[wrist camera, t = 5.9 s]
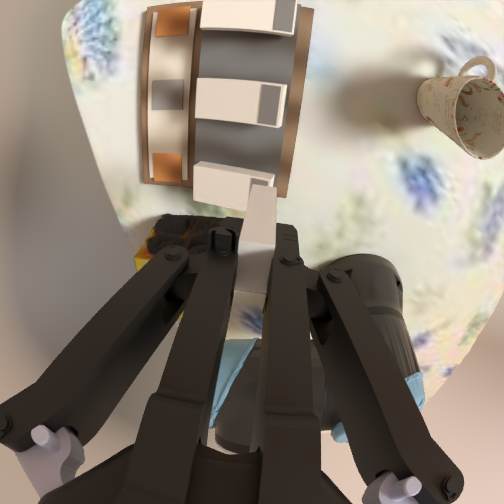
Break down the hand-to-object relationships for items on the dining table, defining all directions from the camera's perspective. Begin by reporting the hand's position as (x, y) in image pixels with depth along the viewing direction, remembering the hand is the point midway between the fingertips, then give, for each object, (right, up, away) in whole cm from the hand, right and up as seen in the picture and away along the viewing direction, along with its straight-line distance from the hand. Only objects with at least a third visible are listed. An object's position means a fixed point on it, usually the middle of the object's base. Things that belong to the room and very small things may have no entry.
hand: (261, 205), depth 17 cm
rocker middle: (-1, +12, +6) cm, 13 cm away
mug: (+22, +17, +5) cm, 28 cm away
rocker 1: (-1, +19, +1) cm, 19 cm away
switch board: (-4, +14, +9) cm, 18 cm away
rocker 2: (-2, +5, +12) cm, 13 cm away
